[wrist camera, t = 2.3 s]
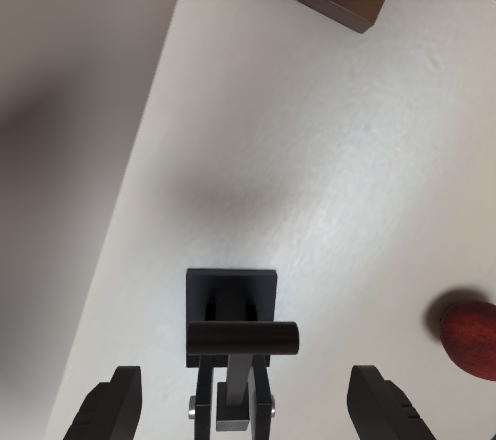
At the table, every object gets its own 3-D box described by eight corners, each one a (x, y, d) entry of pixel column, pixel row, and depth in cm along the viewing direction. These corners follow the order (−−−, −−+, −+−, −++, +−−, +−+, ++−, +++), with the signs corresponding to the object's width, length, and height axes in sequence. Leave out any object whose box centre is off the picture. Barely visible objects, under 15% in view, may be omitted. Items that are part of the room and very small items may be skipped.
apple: (474, 347, 35) (543, 405, 28) (413, 343, 35) (466, 402, 27) (495, 291, 33) (576, 337, 26) (431, 285, 33) (494, 331, 25)
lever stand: (187, 268, 30) (160, 361, 18) (275, 270, 31) (308, 360, 18) (187, 359, 33) (164, 493, 21) (268, 359, 34) (292, 487, 21)
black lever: (189, 305, 14) (183, 358, 12) (294, 306, 14) (303, 358, 13) (198, 394, 23) (196, 432, 21) (263, 393, 23) (265, 430, 22)
